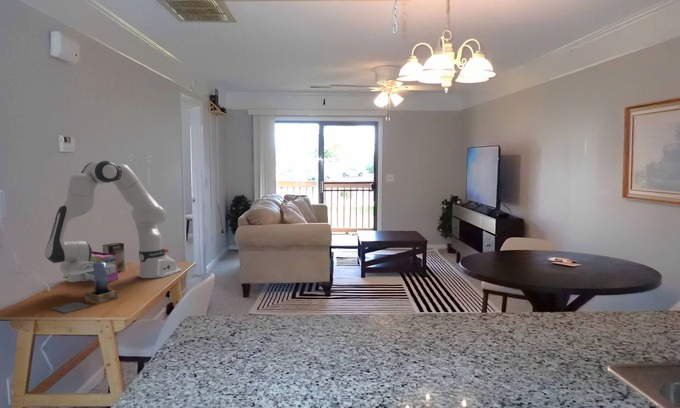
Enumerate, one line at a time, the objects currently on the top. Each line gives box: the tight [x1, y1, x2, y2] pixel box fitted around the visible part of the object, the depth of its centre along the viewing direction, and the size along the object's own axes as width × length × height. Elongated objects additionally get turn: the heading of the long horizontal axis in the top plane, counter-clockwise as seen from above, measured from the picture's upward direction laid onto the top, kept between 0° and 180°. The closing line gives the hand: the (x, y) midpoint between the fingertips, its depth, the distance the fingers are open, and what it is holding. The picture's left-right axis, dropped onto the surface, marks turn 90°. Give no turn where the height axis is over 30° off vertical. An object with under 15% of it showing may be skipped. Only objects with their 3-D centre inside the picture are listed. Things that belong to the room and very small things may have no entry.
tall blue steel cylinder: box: [93, 262, 109, 295], centre depth 197 cm, size 5×5×14 cm
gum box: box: [89, 250, 119, 283], centre depth 234 cm, size 24×8×14 cm, turn 62°
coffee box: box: [102, 242, 126, 273], centre depth 248 cm, size 9×6×16 cm
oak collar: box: [84, 288, 119, 305], centre depth 198 cm, size 9×9×4 cm
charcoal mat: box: [52, 301, 90, 314], centre depth 187 cm, size 10×10×1 cm
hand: (101, 275), depth 197 cm, fingers closed on tall blue steel cylinder, 5 cm apart
